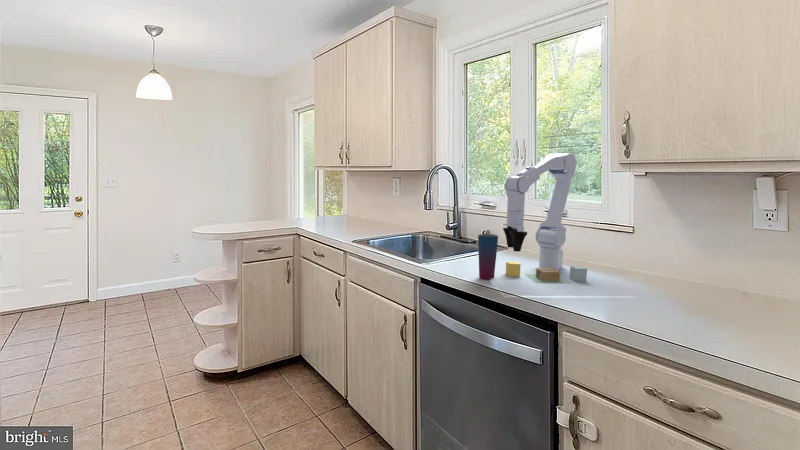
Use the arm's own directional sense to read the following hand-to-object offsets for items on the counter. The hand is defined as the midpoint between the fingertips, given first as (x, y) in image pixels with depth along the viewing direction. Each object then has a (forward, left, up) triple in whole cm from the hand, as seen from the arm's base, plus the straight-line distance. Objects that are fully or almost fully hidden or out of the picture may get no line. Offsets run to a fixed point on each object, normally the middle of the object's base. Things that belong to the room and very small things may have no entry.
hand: (513, 249), depth 149 cm
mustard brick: (0, 0, -10) cm, 10 cm away
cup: (+9, -5, -10) cm, 14 cm away
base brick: (-4, +11, -9) cm, 15 cm away
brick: (-10, +19, -10) cm, 24 cm away
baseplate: (-4, +11, -10) cm, 15 cm away
